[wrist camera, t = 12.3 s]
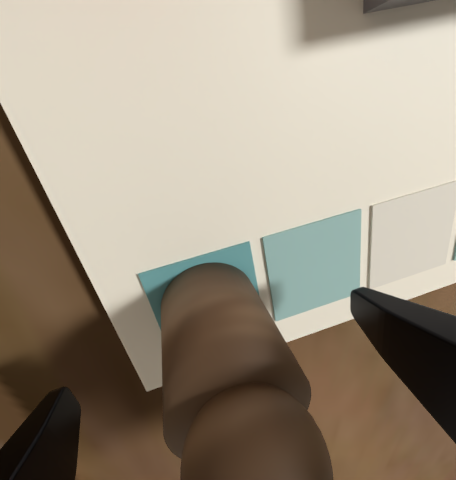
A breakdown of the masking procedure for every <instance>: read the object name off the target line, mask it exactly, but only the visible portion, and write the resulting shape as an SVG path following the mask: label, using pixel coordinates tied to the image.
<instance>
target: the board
mask: <svg viewBox="0 0 456 480" xmlns="http://www.w3.org/2000/svg"><path fill="white" fill-rule="evenodd" d="M0 103H1V105H2V107H3V109H4V111H5V113H6V115H7V117H8V119H9V121H10V123H11V125H12V127H13V129H14V131H15V133H16V135H17V137H18V139H19V141H20V143H21V145H22V146H23V148H24V150H25V152H26V154H27V156H28V158H29V160H30V162H31V164H32V166H33V168H34V170H35V172H36V174H37V176H38V178H39V180H40V182H41V184H42V186H43V188H44V190H45V192H46V194H47V196H48V198H49V200H50V202H51V204H52V206H53V208H54V210H55V212H56V214H57V216H58V218H59V220H60V221H61V223H62V225H63V227H64V229H65V231H66V233H67V235H68V237H69V239H70V241H71V243H72V245H73V247H74V249H75V251H76V253H77V255H78V257H79V259H80V261H81V263H82V265H83V267H84V269H85V271H86V273H87V275H88V277H89V279H90V281H91V283H92V285H93V287H94V289H95V291H96V293H97V295H98V296H99V298H100V300H101V302H102V304H103V306H104V308H105V310H106V312H107V314H108V316H109V318H110V320H111V322H112V324H113V326H114V328H115V330H116V332H117V334H118V336H119V338H120V340H121V342H122V344H123V346H124V348H125V350H126V352H127V354H128V356H129V358H130V360H131V362H132V364H133V366H134V368H135V370H136V371H137V373H138V375H139V377H140V379H141V381H142V383H143V385H144V387H145V389H146V391H150V390H153V389H156V388H159V387H162V348H161V300H162V297H163V294H164V292H165V290H166V288H167V286H168V285H169V284H170V282H171V281H172V280H173V279H174V278H175V277H176V276H177V275H179V274H180V273H182V272H183V271H185V270H187V269H188V268H191V267H193V266H196V265H199V264H203V263H211V262H217V263H225V264H229V265H232V266H234V267H236V268H238V269H240V270H241V271H242V272H244V273H245V274H246V275H247V277H248V278H249V279H250V281H251V283H252V284H253V286H254V288H255V290H256V291H257V293H258V295H259V296H260V298H261V300H262V302H263V303H264V305H265V307H266V309H267V310H268V312H269V314H270V315H271V317H272V319H273V321H274V322H275V324H276V326H277V328H278V329H279V331H280V333H281V334H282V336H283V338H284V340H285V341H286V342H289V341H292V340H295V339H298V338H300V337H303V336H306V335H309V334H312V333H315V332H317V331H320V330H323V329H326V328H329V327H332V326H334V325H337V324H340V323H343V322H346V321H349V320H351V319H354V317H353V316H352V314H351V310H350V293H351V291H352V290H354V289H357V288H360V287H367V288H370V289H373V290H376V291H379V292H382V293H385V294H388V295H391V296H395V297H398V298H401V299H404V300H408V299H411V298H414V297H417V296H419V295H422V294H425V293H428V292H431V291H434V290H436V289H439V288H442V287H445V286H448V285H451V284H453V283H456V0H435V1H430V2H424V3H419V4H414V5H408V6H403V7H397V8H392V9H387V10H381V11H376V12H370V13H365V14H363V0H0Z"/></svg>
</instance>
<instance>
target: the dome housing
mask: <svg viewBox="0 0 456 480" xmlns="http://www.w3.org/2000/svg"><path fill="white" fill-rule="evenodd" d="M430 1H435V0H363V14H365V13H370V12H376V11H381V10H387V9H392V8H397V7H403V6H408V5H414V4H419V3H424V2H430Z"/></svg>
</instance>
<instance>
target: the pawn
mask: <svg viewBox="0 0 456 480" xmlns="http://www.w3.org/2000/svg"><path fill="white" fill-rule="evenodd" d="M161 348H162V395H163V435H164V439H165V442H166V444H167V446H168V448H169V449H170V450H171V451H172V453H174V454H175V455H176V456H177V457H179V458H181V467H180V469H181V480H333V471H332V465H331V460H330V455H329V452H328V449H327V446H326V443H325V440H324V438H323V436H322V433H321V431H320V429H319V428H318V426H317V424H316V423H315V421H314V419H313V418H312V416H311V415H310V414H309V412H308V411H307V410H308V407H309V404H310V400H311V387H310V384H309V381H308V379H307V378H306V376H305V374H304V372H303V371H302V369H301V367H300V365H299V364H298V362H297V360H296V359H295V357H294V355H293V353H292V352H291V350H290V348H289V346H288V345H287V343H286V341H285V340H284V338H283V336H282V334H281V333H280V331H279V329H278V328H277V326H276V324H275V322H274V321H273V319H272V317H271V315H270V314H269V312H268V310H267V309H266V307H265V305H264V303H263V302H262V300H261V298H260V296H259V295H258V293H257V291H256V290H255V288H254V286H253V284H252V283H251V281H250V279H249V278H248V277H247V275H246V274H245V273H244V272H242V271H241V270H240V269H238V268H236V267H234V266H232V265H229V264H225V263H217V262H211V263H203V264H199V265H196V266H193V267H191V268H188V269H187V270H185V271H183V272H182V273H180V274H179V275H177V276H176V277H175V278H174V279H173V280H172V281H171V282H170V284H169V285H168V286H167V288H166V290H165V292H164V294H163V297H162V300H161Z"/></svg>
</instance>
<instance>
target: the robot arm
mask: <svg viewBox="0 0 456 480" xmlns="http://www.w3.org/2000/svg"><path fill="white" fill-rule="evenodd" d="M350 310H351V314H352V316H353V317H354V319H355V320H356V322H357V323H358V324H359V326H360V327H361V329H362V330H363V332H364V333H365V334H366V336H367V337H368V339H369V340H370V342H371V343H372V344H373V346H374V347H375V349H376V350H377V351H378V353H379V354H380V355H381V357H382V358H383V359H384V360H385V362H386V363H387V364H388V365H389V366H390V368H391V369H392V370H393V371H394V372H395V373H396V375H397V376H398V377H399V378H400V379H401V380H402V382H403V383H404V384H405V385H406V386H407V387H408V389H409V390H410V391H411V392H412V393H413V394H414V396H415V397H416V398H417V399H418V400H419V401H420V403H421V404H422V405H423V406H424V407H425V408H426V410H427V411H428V412H429V413H430V414H431V415H432V417H433V418H434V419H435V420H436V421H437V422H438V424H439V425H440V426H441V427H442V428H443V429H444V431H445V432H446V433H447V434H448V435H449V436H450V438H451V439H452V440H453V441H454V442H455V443H456V316H454V315H451V314H448V313H444V312H441V311H438V310H435V309H432V308H429V307H426V306H423V305H419V304H416V303H413V302H410V301H407V300H404V299H401V298H398V297H395V296H391V295H388V294H385V293H382V292H379V291H376V290H373V289H370V288H367V287H360V288H357V289H354V290H352V291H351V293H350ZM80 416H81V408H80V404H79V402H78V401H77V400H76V398H75V397H74V395H73V394H72V392H71V391H70V389H69V388H67V387H61V388H58V389H55V390H52V391H50V392H49V393H48V394H47V395H46V396H45V398H44V399H43V400H42V401H41V402H40V403H39V405H38V406H37V407H36V408H35V409H34V410H33V412H32V413H31V414H30V415H29V416H28V418H27V419H26V420H25V421H24V422H23V423H22V425H21V426H20V427H19V428H18V429H17V430H16V432H15V433H14V434H13V435H12V436H11V437H10V439H9V440H8V441H7V442H6V443H5V444H4V446H3V447H2V448H1V449H0V480H75V475H76V467H77V456H78V443H79V429H80Z"/></svg>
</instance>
